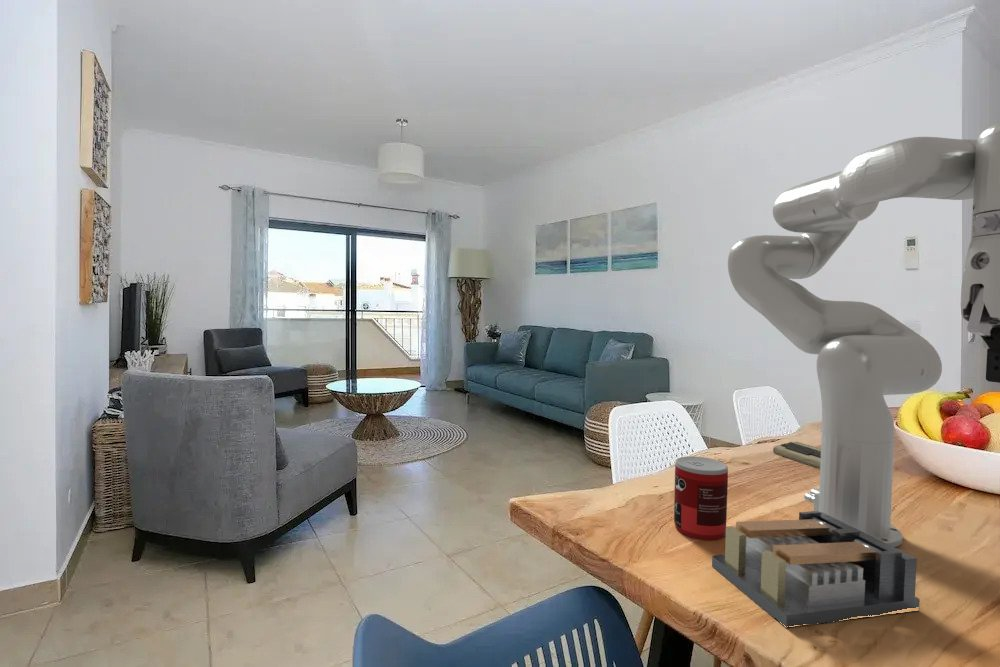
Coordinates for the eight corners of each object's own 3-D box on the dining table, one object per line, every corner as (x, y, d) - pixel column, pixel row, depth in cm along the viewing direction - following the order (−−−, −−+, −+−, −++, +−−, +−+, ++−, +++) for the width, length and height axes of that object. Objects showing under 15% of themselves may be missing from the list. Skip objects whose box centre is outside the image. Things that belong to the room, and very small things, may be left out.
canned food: (683, 516, 89) (684, 453, 88) (732, 529, 83) (734, 462, 83) (666, 531, 83) (667, 463, 82) (717, 545, 78) (720, 474, 77)
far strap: (733, 528, 70) (734, 519, 70) (816, 525, 72) (817, 516, 72) (752, 540, 66) (752, 531, 66) (839, 537, 69) (839, 528, 69)
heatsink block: (711, 566, 71) (713, 516, 71) (823, 555, 75) (825, 508, 74) (786, 628, 58) (788, 567, 57) (919, 611, 61) (921, 553, 61)
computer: (772, 454, 128) (772, 441, 128) (797, 452, 130) (798, 439, 130) (829, 474, 113) (830, 459, 113) (857, 471, 115) (857, 457, 115)
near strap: (769, 552, 63) (770, 542, 63) (860, 548, 65) (860, 538, 65) (792, 567, 59) (793, 557, 59) (887, 562, 62) (888, 552, 62)
